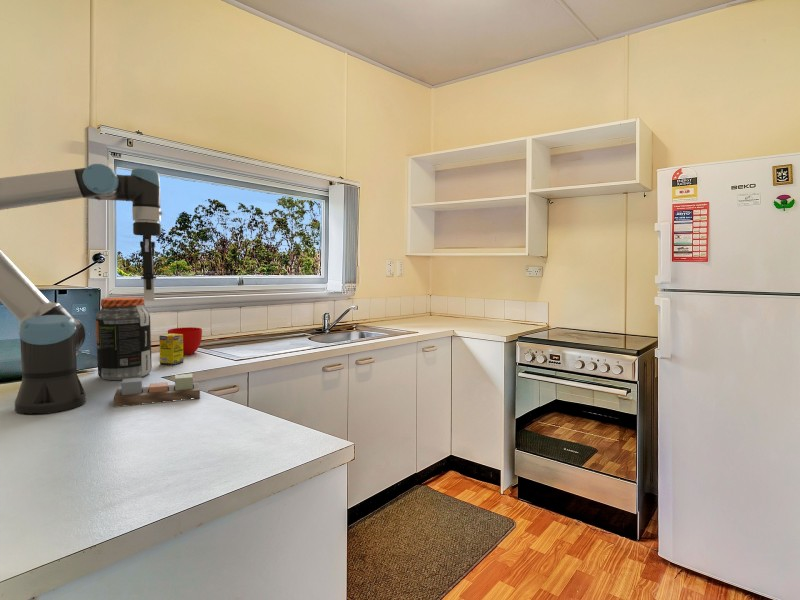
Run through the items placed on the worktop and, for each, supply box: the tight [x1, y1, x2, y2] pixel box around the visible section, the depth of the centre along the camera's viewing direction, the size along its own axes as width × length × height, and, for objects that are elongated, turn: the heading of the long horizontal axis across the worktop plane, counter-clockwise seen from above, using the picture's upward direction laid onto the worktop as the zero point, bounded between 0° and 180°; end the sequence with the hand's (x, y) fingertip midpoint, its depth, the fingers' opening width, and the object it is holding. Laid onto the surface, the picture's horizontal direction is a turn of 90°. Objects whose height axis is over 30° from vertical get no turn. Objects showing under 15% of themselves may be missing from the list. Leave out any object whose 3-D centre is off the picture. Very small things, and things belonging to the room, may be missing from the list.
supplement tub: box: [95, 297, 153, 381], centre depth 161 cm, size 16×16×26 cm
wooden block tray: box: [113, 382, 201, 407], centre depth 136 cm, size 21×9×2 cm, turn 114°
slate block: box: [120, 377, 143, 395], centre depth 133 cm, size 5×5×4 cm
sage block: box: [174, 373, 194, 390], centre depth 138 cm, size 5×5×4 cm
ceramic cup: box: [167, 326, 203, 356], centre depth 199 cm, size 13×17×10 cm
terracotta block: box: [148, 381, 169, 393], centre depth 136 cm, size 5×5×4 cm
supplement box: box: [158, 333, 184, 366], centre depth 181 cm, size 6×6×11 cm
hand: (149, 300), depth 148 cm, fingers closed
